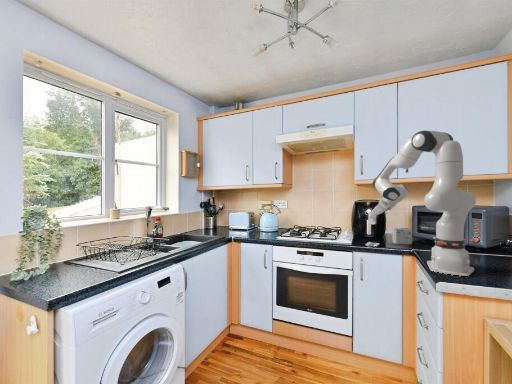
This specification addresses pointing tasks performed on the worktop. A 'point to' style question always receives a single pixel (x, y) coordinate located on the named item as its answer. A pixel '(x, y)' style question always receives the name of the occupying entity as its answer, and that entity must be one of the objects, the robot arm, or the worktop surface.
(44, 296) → the worktop surface
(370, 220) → the grey module
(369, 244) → the mounting pad
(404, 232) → the light bulb box
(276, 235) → the worktop surface
